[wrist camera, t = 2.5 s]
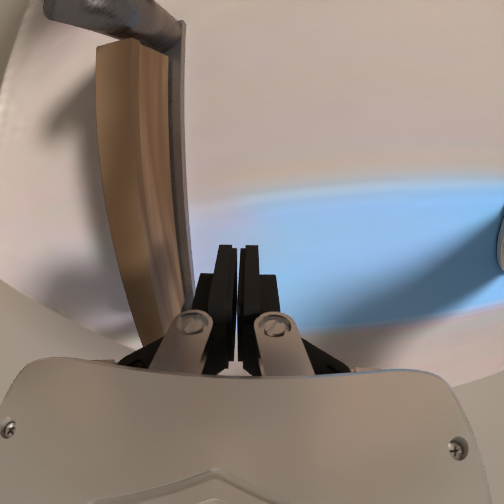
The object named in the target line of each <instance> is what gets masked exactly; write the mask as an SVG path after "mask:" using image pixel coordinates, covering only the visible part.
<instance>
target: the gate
mask: <svg viewBox="0 0 504 504" xmlns="http://www.w3.org/2000/svg"><path fill="white" fill-rule="evenodd" d="M95 90H96V122H97V137H98V149H99V159H100V168H101V176H102V183H103V190H104V197H105V203H106V209H107V214H108V220H109V225H110V230H111V235H112V240H113V244H114V249H115V253H116V258H117V262H118V266H119V270H120V274H121V278H122V281H123V285H124V289H125V292H126V296H127V299H128V303H129V306H130V309H131V312H132V316H133V319H134V322H135V325H136V328H137V331H138V334H139V337H140V340H141V343H142V345H143V347H145V346H146V345H148V344H150V343H152V342H154V341H156V340H158V339H159V338H161V337H163V336H165V334H166V333H167V331H168V329H169V327H170V325H171V323H172V321H173V319H174V318H175V317H176V316H177V315H178V314H180V312H181V309H182V306H183V303H184V294H183V287H182V280H181V272H180V265H179V257H178V249H177V240H176V231H175V221H174V210H173V199H172V186H171V171H170V153H169V128H168V56H166V55H164V54H162V53H160V52H157V51H155V50H153V49H151V48H148V47H146V46H144V45H141V44H140V41H139V40H136V39H134V38H128V39H124V40H120V41H116V42H112V43H109V44H105V45H102V46H98V47H97V49H96V80H95Z"/></svg>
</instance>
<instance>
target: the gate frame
mask: <svg viewBox="0 0 504 504" xmlns="http://www.w3.org/2000/svg"><path fill="white" fill-rule="evenodd" d="M43 10H44V14H45V16H46V17H47V18H48V19H50V20H52V21H57V22H61V23H65V24H69V25H73V26H77V27H81V28H84V29H88V30H91V31H94V32H97V33H101V34H104V35H107V36H110V37H113V38H116V39H118V40H124V39H128V38H134V39H136V40H139V41H140V44H141V45H144V46H146V47H148V48H151V49H153V50H155V51H157V52H160V53H162V54H164V55H166V56H168V128H169V153H170V171H171V186H172V199H173V210H174V221H175V231H176V240H177V249H178V257H179V265H180V272H181V280H182V287H183V294H184V303H183V306H182V309H181V312H184V311H187V310H191V308H192V304H193V300H194V296H195V292H196V289H195V280H194V271H193V261H192V251H191V240H190V228H189V215H188V200H187V183H186V162H185V130H184V66H185V36H186V23H185V22H184V21H183V20H180V21H177V20H176V19H175V18H174V17H173V16H171V15H170V14H169V13H168V12H167V11H166V10H165V9H164V8H162V7H161V6H160V5H159V4H158V3H157V2H156V1H154V0H44V5H43ZM181 312H180V313H181Z"/></svg>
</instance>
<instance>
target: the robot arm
mask: <svg viewBox="0 0 504 504" xmlns="http://www.w3.org/2000/svg"><path fill="white" fill-rule="evenodd" d="M497 260H498V263H499V266H500V268H501V269H502V270H503V271H504V218H503V221H502V224H501V227H500V232H499V236H498V243H497ZM236 314H237V333H238V361H243V369H245V370H246V371H247V372H249V373H250V374H251V375H252V376H223V375H218V373H219V372H221V371H222V370H224V369H228V364H229V361H234V349H235V331H236ZM0 504H492V500H491V494H490V489H489V484H488V479H487V475H486V470H485V467H484V463H483V460H482V457H481V454H480V450H479V447H478V445H477V441H476V438H475V435H474V432H473V430H472V427H471V425H470V422H469V420H468V418H467V415H466V413H465V411H464V409H463V407H462V405H461V403H460V401H459V399H458V398H457V396H456V394H455V392H454V391H453V389H452V388H451V387H450V385H449V384H448V383H447V382H446V381H445V380H444V379H443V378H441V377H440V376H438V375H435V374H433V373H429V372H425V371H420V370H413V369H376V368H363V367H355V370H353V369H349V368H348V367H347V366H346V365H345V364H344V363H342V362H340V361H339V360H337V359H335V358H334V357H332V356H330V355H329V354H327V353H325V352H324V351H322V350H320V349H319V348H317V347H316V346H314V345H312V344H311V343H309V342H307V341H306V340H304V339H303V338H301V337H300V334H299V331H298V329H297V326H296V324H295V322H294V320H293V319H292V318H291V317H290V316H288V315H286V314H284V313H281V312H280V304H279V296H278V288H277V281H276V275H259V254H258V245H246V248H241V251H240V267H239V283H238V299H237V248H232V245H219V249H218V254H217V259H216V264H215V269H214V274H210V273H201V274H200V277H199V280H198V284H197V288H196V292H195V296H194V300H193V304H192V308H191V310H187V311H184V312H181V313H180V314H178V315H177V316H176V317H175V318H174V319H173V321H172V323H171V325H170V327H169V329H168V331H167V333H166V334H165V336H163V337H161V338H159V339H158V340H156V341H154V342H152V343H150V344H148V345H146V346H145V347H143V348H141V349H139V350H137V351H135V352H133V353H132V354H130V355H127V356H126V357H124V358H123V359H122V360H120V361H119V362H115V360H84V359H78V358H68V357H51V358H43V359H39V360H35V361H33V362H31V363H29V364H27V365H26V366H25V367H24V368H23V369H22V370H21V371H20V372H19V374H18V375H17V377H16V378H15V380H14V381H13V383H12V384H11V386H10V388H9V390H8V391H7V393H6V395H5V397H4V399H3V401H2V403H1V405H0Z"/></svg>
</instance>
